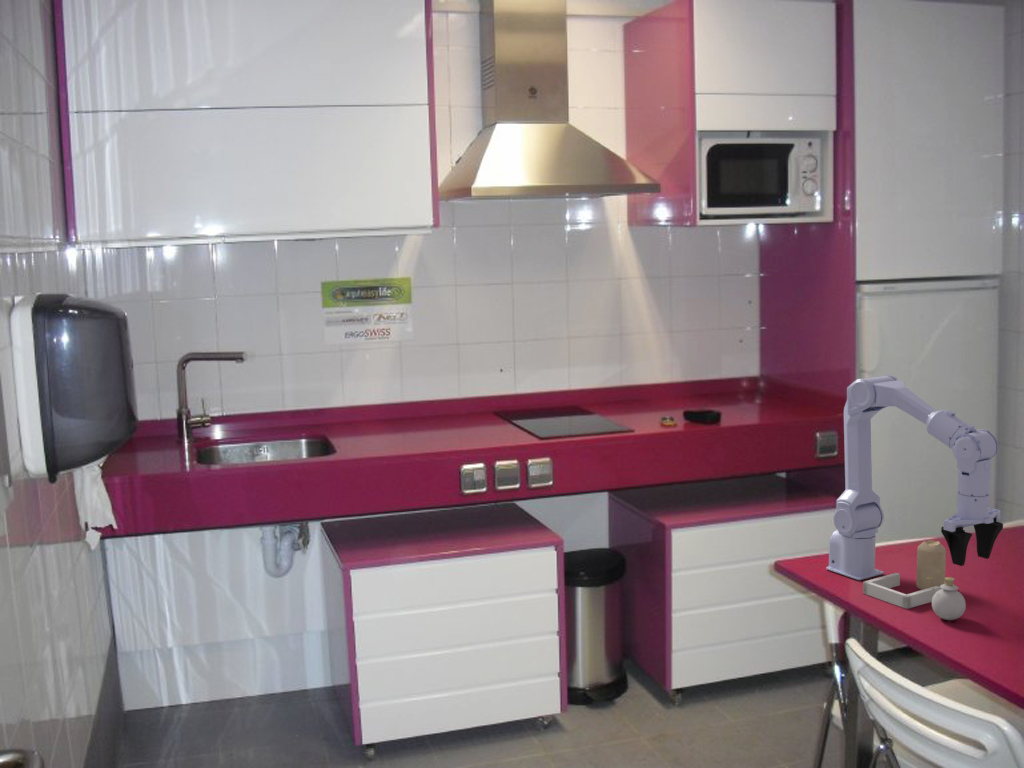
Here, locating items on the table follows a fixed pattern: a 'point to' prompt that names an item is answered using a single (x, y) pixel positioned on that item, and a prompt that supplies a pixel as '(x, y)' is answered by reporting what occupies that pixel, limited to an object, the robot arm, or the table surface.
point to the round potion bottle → (948, 600)
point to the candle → (930, 564)
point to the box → (882, 592)
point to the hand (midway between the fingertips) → (970, 560)
